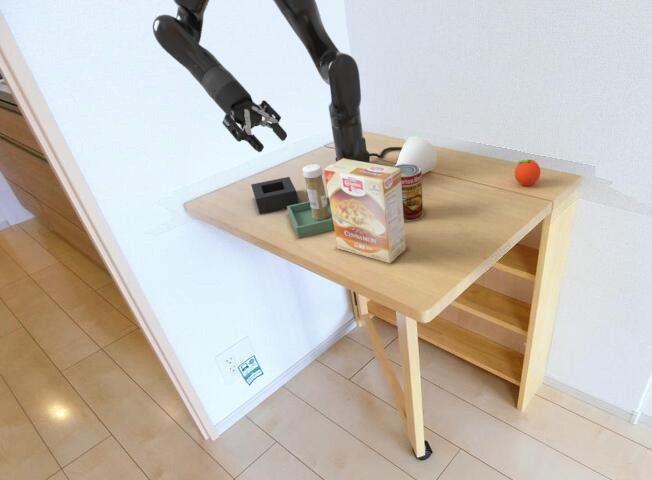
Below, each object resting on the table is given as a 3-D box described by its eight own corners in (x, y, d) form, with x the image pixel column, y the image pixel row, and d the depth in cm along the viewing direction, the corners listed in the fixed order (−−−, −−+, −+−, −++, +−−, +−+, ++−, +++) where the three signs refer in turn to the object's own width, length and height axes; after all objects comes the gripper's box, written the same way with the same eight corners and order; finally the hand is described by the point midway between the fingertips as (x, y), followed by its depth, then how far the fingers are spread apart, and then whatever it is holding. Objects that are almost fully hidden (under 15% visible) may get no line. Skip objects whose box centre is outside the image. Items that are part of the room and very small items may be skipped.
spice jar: (332, 217, 114) (324, 167, 106) (317, 222, 112) (306, 172, 104) (325, 211, 117) (316, 162, 109) (309, 216, 115) (299, 166, 107)
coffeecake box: (336, 249, 103) (322, 168, 91) (354, 235, 107) (342, 157, 95) (390, 264, 96) (382, 180, 84) (406, 249, 101) (401, 166, 89)
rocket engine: (384, 163, 117) (418, 128, 126) (365, 181, 127) (397, 148, 136) (413, 195, 120) (444, 159, 129) (392, 210, 130) (422, 176, 139)
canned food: (401, 224, 110) (398, 178, 103) (387, 212, 116) (383, 168, 108) (428, 216, 113) (427, 171, 105) (413, 204, 118) (411, 161, 111)
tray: (344, 203, 122) (342, 193, 120) (358, 223, 112) (357, 213, 110) (288, 215, 118) (286, 206, 116) (298, 238, 108) (295, 228, 106)
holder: (292, 191, 131) (289, 176, 128) (299, 205, 123) (296, 190, 120) (255, 198, 128) (251, 184, 125) (259, 214, 120) (255, 199, 117)
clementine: (508, 188, 123) (510, 163, 118) (511, 178, 128) (513, 154, 123) (537, 190, 120) (541, 165, 116) (539, 180, 125) (543, 156, 121)
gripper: (207, 87, 98) (259, 143, 101) (252, 73, 108) (298, 125, 110) (199, 110, 104) (248, 163, 106) (242, 95, 113) (286, 144, 116)
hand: (273, 144), depth 108 cm, fingers open, 8 cm apart
